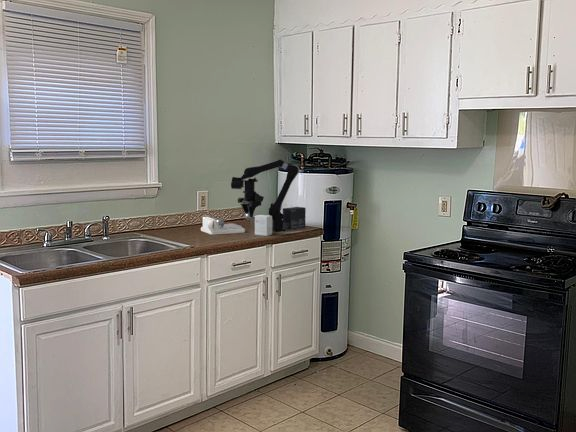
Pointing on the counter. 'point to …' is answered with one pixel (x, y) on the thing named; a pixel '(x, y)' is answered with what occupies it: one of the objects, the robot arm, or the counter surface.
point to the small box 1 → (263, 225)
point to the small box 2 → (294, 217)
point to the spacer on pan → (220, 222)
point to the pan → (229, 226)
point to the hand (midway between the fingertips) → (249, 216)
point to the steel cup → (248, 216)
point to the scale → (212, 227)
